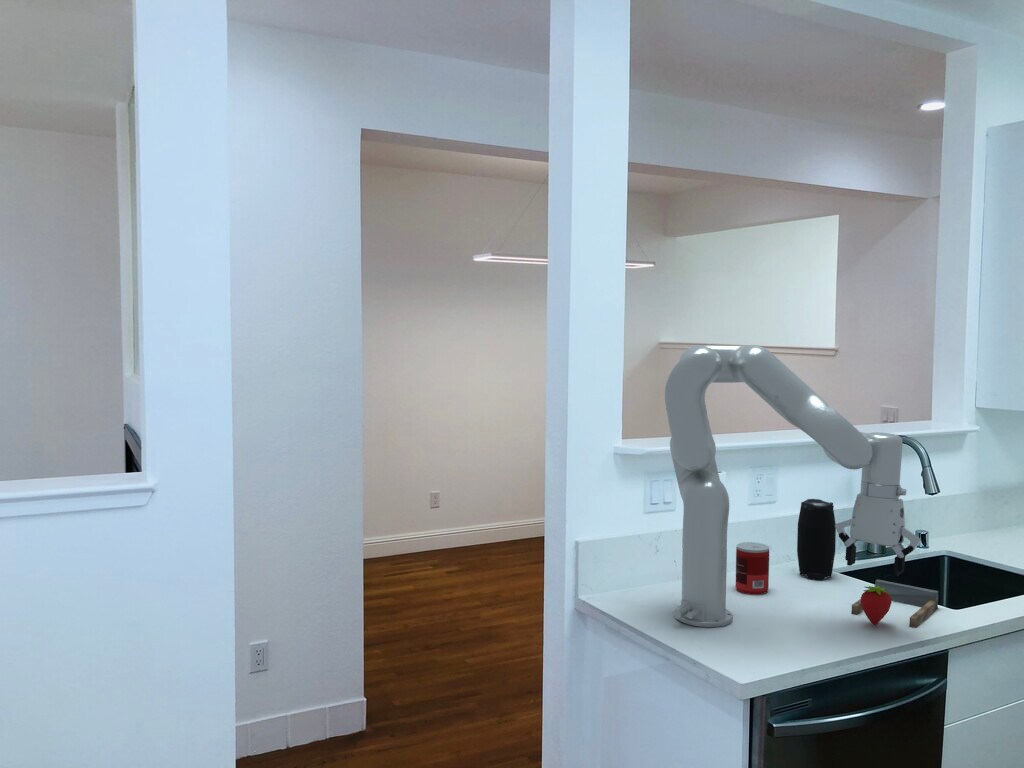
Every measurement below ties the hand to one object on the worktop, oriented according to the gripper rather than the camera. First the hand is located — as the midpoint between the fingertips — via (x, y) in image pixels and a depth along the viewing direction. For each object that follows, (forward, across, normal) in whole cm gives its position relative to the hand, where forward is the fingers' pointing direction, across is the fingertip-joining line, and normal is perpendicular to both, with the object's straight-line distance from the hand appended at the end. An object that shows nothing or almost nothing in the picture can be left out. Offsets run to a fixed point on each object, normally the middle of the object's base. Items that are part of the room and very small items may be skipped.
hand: (873, 569), depth 178 cm
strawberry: (+12, -1, -1) cm, 12 cm away
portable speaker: (+13, +23, -28) cm, 38 cm away
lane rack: (+12, -1, -13) cm, 18 cm away
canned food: (+13, +30, -6) cm, 33 cm away
